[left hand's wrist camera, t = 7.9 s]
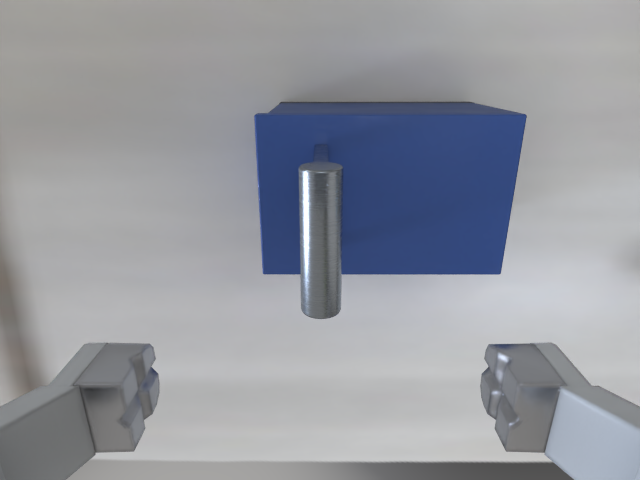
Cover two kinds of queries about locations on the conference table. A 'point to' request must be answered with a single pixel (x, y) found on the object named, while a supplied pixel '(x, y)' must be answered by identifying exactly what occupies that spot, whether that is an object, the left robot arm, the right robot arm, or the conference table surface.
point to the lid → (383, 195)
